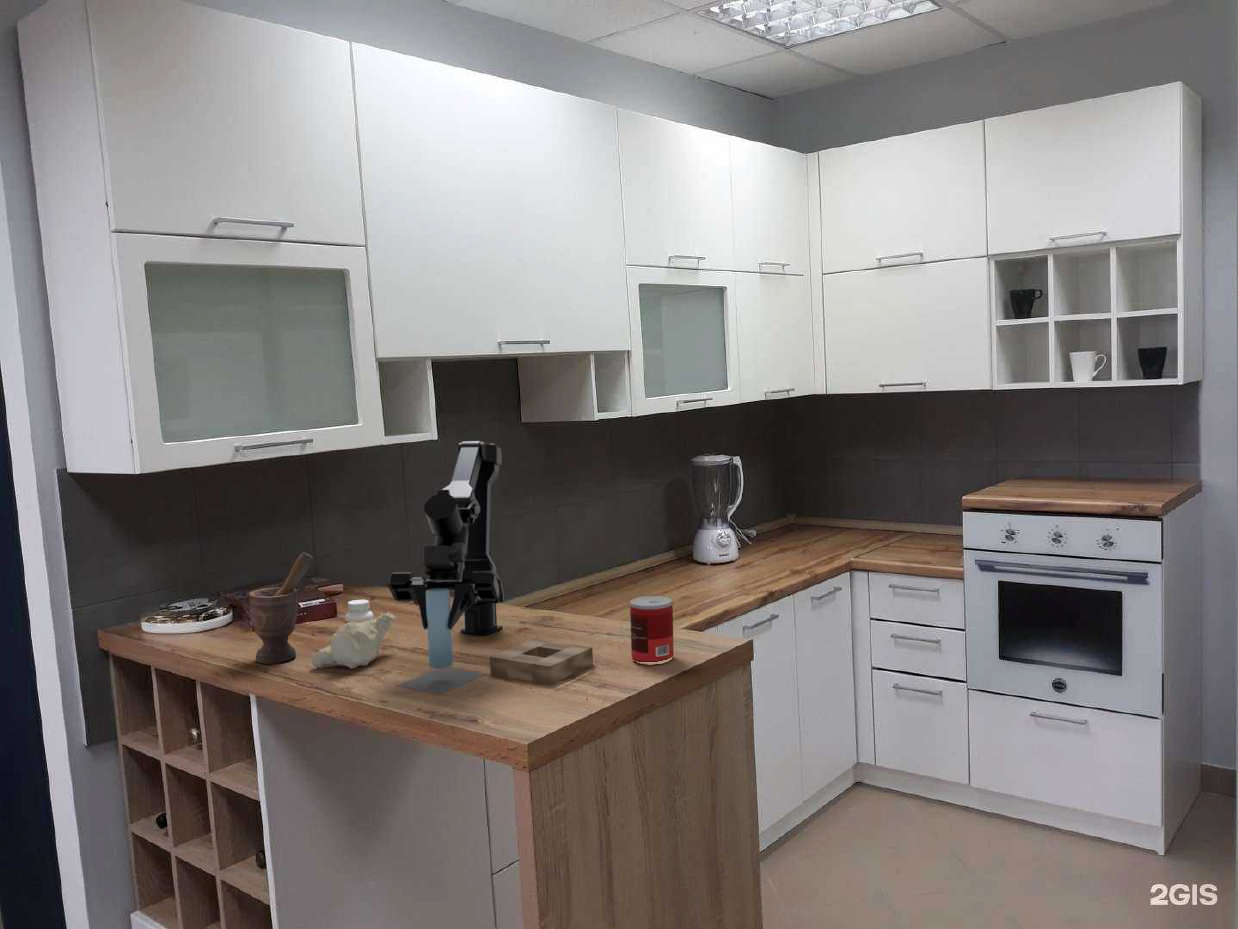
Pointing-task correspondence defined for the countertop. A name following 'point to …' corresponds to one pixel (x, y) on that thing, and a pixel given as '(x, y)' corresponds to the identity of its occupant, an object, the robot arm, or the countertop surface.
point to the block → (541, 661)
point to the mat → (441, 680)
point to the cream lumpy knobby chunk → (354, 643)
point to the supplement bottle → (358, 611)
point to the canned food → (651, 628)
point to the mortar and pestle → (277, 615)
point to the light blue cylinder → (439, 628)
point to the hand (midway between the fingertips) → (437, 628)
